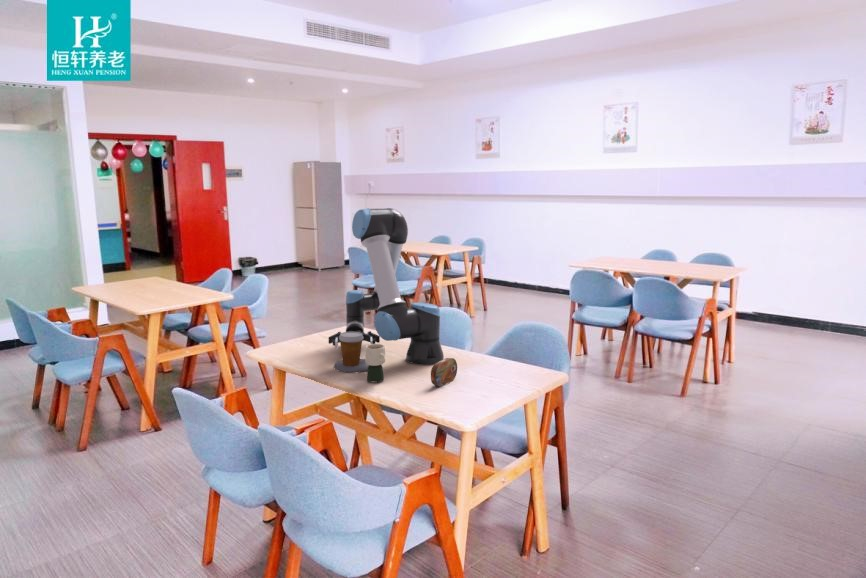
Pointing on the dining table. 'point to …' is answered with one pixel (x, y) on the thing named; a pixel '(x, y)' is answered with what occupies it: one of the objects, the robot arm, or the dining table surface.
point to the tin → (443, 372)
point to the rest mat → (351, 367)
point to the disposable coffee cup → (351, 347)
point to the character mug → (375, 362)
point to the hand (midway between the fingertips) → (353, 344)
